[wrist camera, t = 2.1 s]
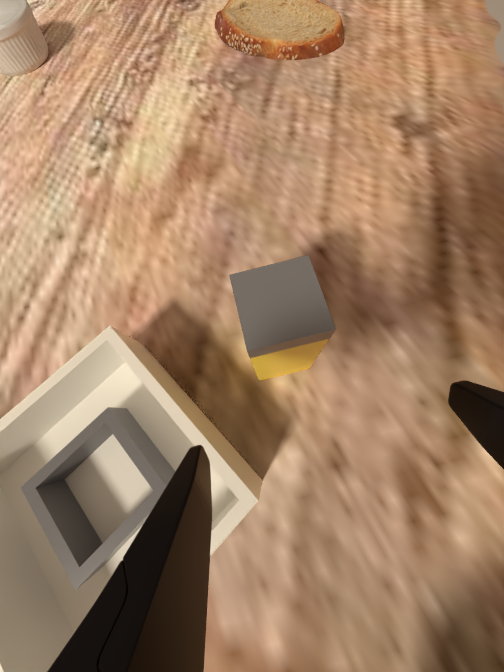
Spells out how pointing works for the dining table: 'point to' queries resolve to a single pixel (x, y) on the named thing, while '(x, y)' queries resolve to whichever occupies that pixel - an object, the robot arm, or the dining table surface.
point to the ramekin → (20, 39)
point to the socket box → (94, 487)
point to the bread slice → (280, 28)
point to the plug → (282, 316)
